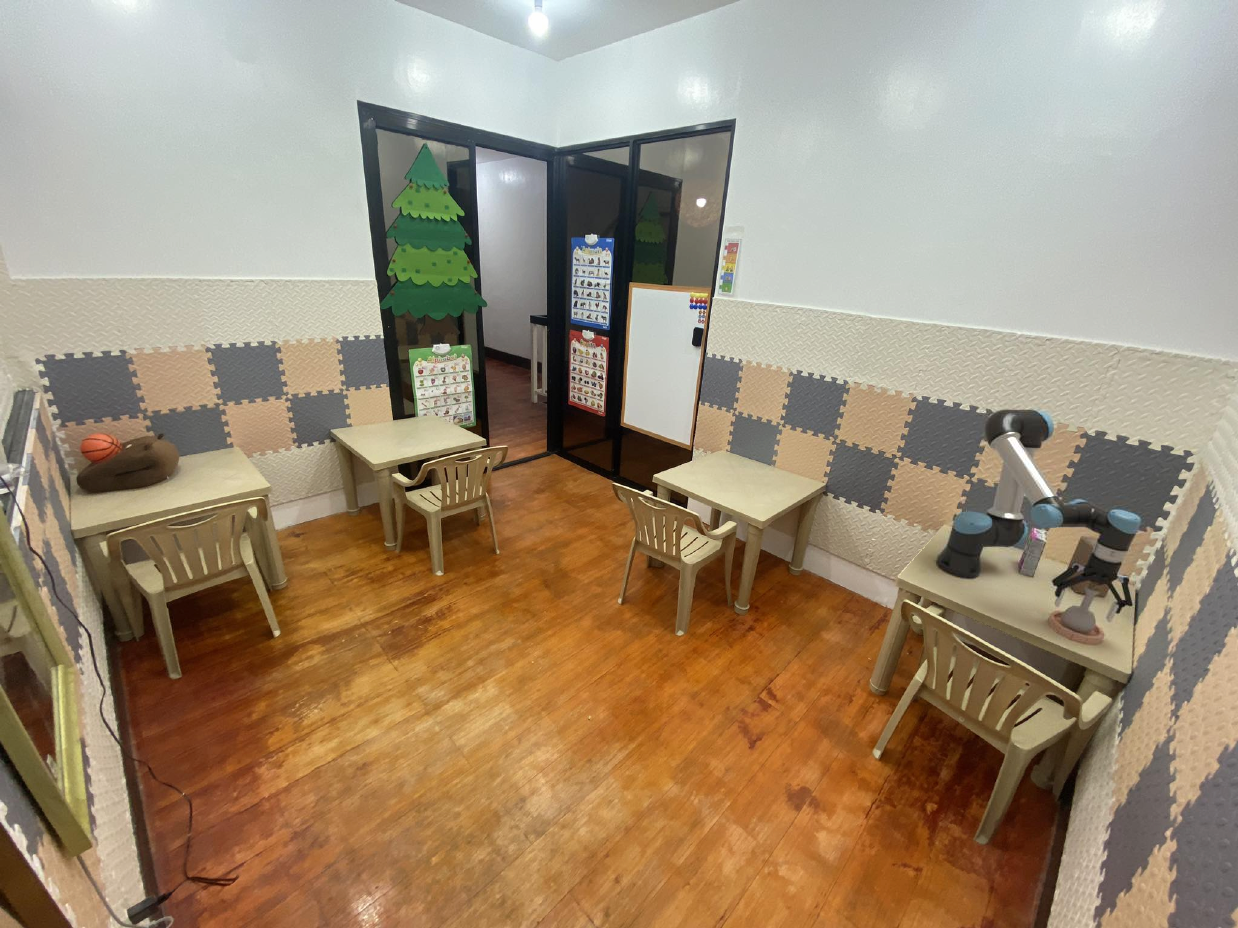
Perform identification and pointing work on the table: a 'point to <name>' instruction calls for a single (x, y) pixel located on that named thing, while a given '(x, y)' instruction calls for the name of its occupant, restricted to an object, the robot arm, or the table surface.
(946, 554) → the robot arm
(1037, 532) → the candy bar box
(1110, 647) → the table surface
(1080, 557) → the wooden block
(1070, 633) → the saucer
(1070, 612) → the potion bottle
